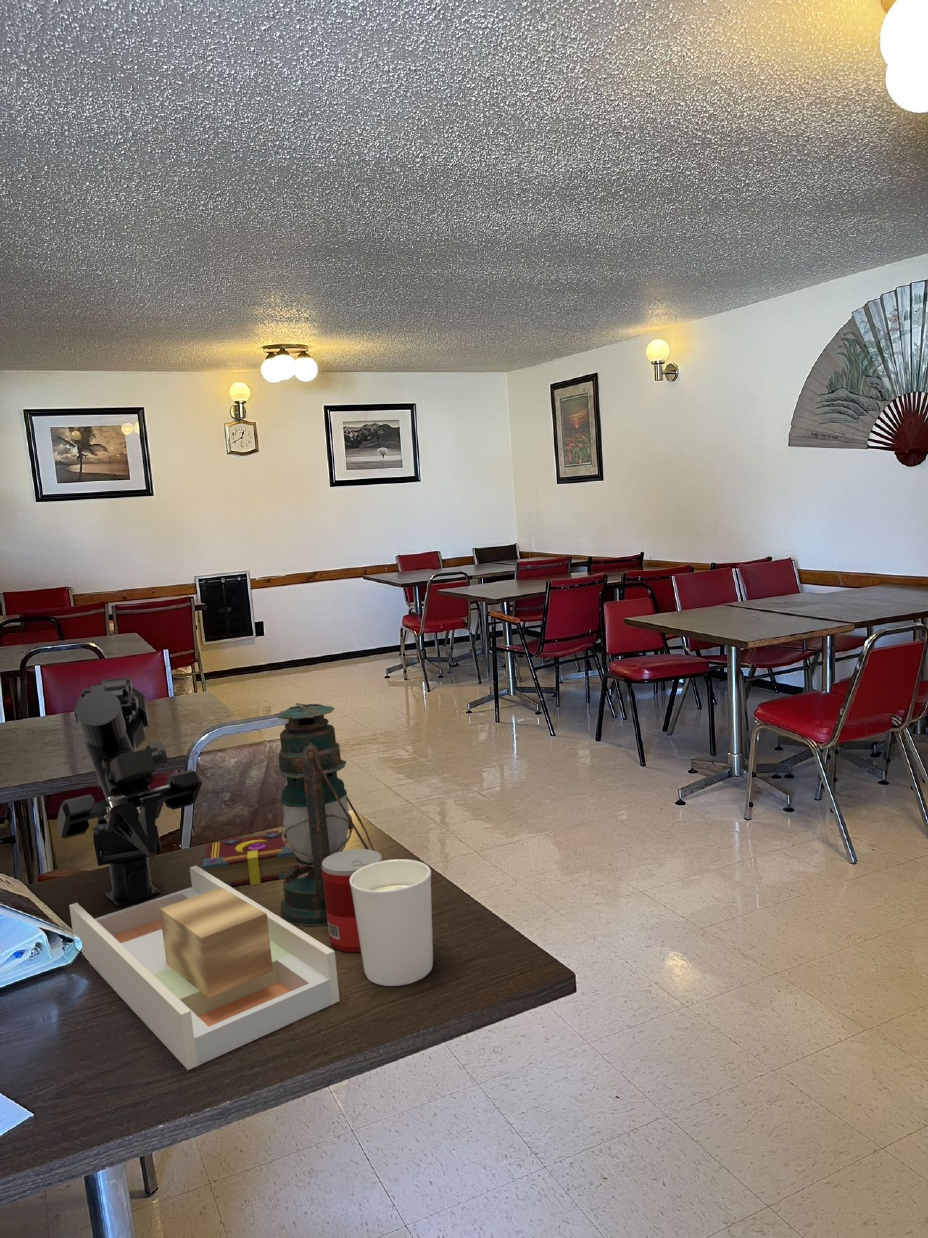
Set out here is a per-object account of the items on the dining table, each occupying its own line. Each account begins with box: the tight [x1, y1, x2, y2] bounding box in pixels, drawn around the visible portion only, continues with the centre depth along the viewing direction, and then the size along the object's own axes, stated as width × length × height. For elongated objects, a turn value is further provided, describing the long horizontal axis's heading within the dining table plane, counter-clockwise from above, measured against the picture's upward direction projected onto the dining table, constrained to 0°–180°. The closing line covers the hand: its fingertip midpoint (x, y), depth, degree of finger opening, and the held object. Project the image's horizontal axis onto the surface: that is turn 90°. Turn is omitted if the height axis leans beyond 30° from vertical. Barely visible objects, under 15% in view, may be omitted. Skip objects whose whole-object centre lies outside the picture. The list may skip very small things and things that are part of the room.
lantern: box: [275, 702, 376, 927], centre depth 128 cm, size 19×14×30 cm
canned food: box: [322, 848, 383, 953], centre depth 117 cm, size 8×8×11 cm
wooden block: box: [160, 887, 273, 998], centre depth 107 cm, size 12×8×7 cm, turn 40°
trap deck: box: [69, 865, 341, 1071], centre depth 112 cm, size 40×18×6 cm, turn 39°
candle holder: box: [349, 858, 434, 987], centre depth 109 cm, size 10×10×12 cm
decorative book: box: [202, 830, 306, 887], centre depth 145 cm, size 11×16×5 cm
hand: (152, 854), depth 120 cm, fingers closed
